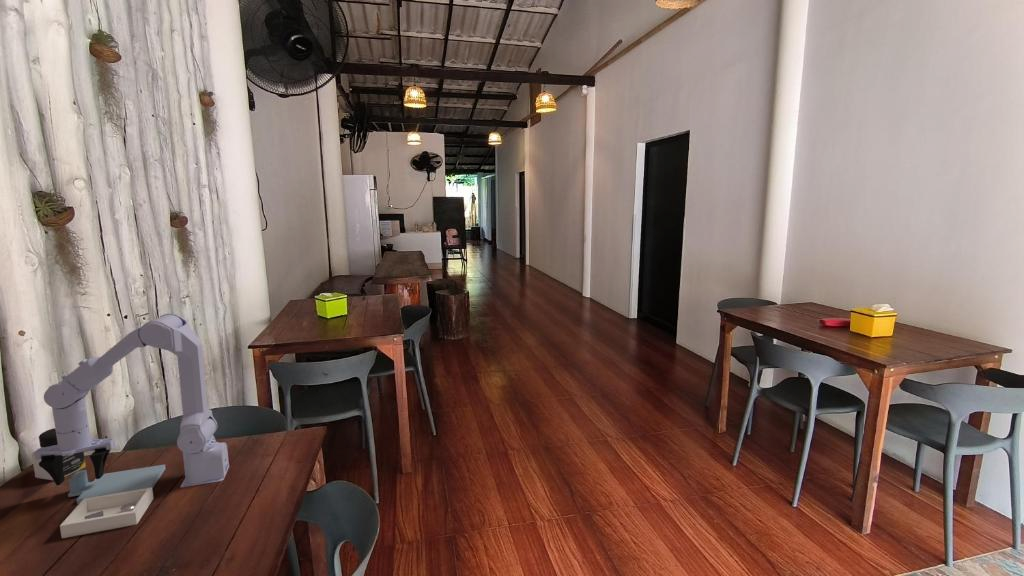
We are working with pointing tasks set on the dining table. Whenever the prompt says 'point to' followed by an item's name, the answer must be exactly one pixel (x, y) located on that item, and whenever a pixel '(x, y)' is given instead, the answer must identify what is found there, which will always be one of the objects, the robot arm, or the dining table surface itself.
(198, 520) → the dining table surface
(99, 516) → the rubber block
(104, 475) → the lid
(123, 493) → the tub
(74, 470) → the medicine bottle
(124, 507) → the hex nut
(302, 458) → the dining table surface
